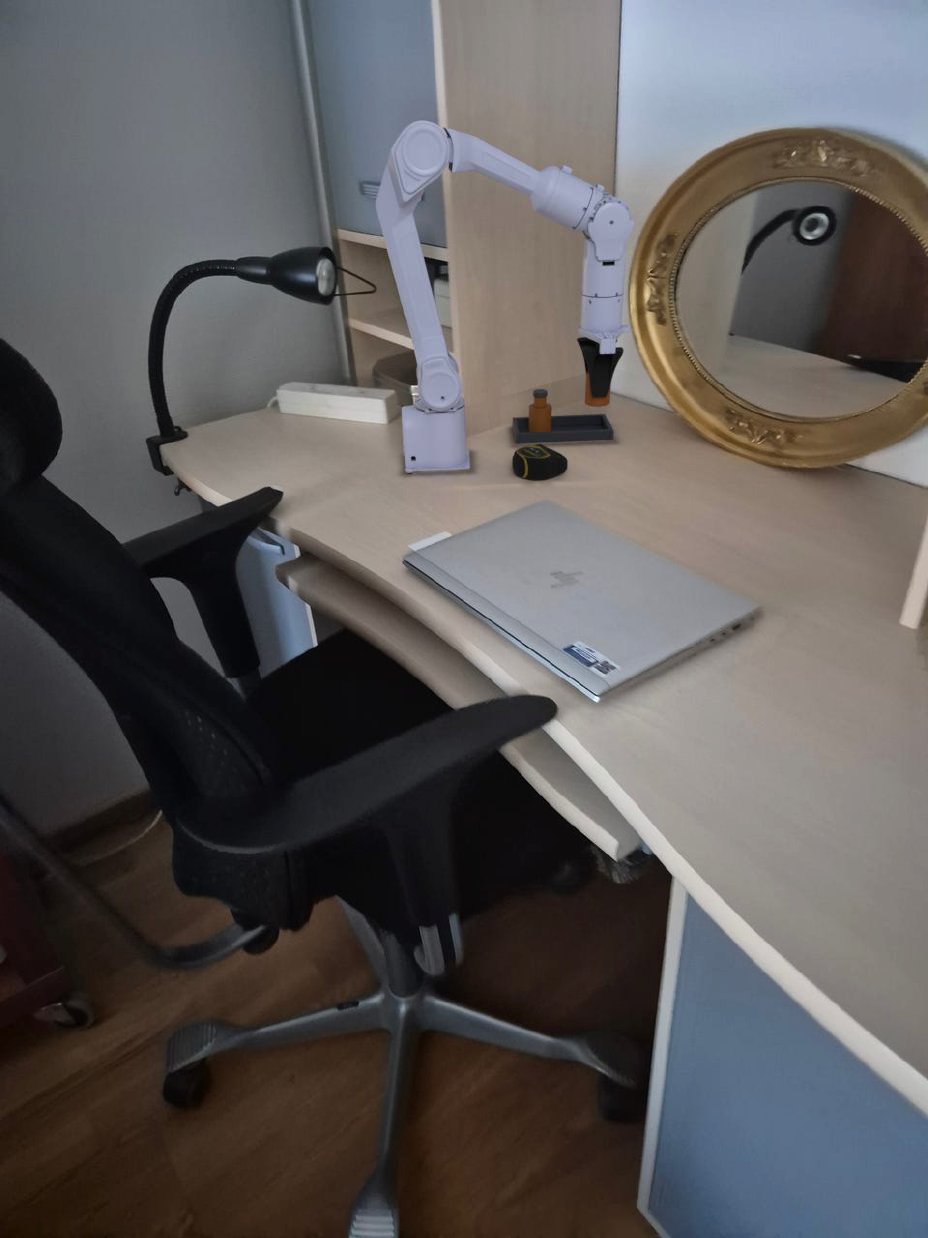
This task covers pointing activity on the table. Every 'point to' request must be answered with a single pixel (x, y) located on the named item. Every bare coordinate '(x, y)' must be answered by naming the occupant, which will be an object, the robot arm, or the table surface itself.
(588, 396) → the amber bottle
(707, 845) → the table surface
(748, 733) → the table surface
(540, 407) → the row bottle
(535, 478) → the tape measure
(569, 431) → the tray
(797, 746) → the table surface
